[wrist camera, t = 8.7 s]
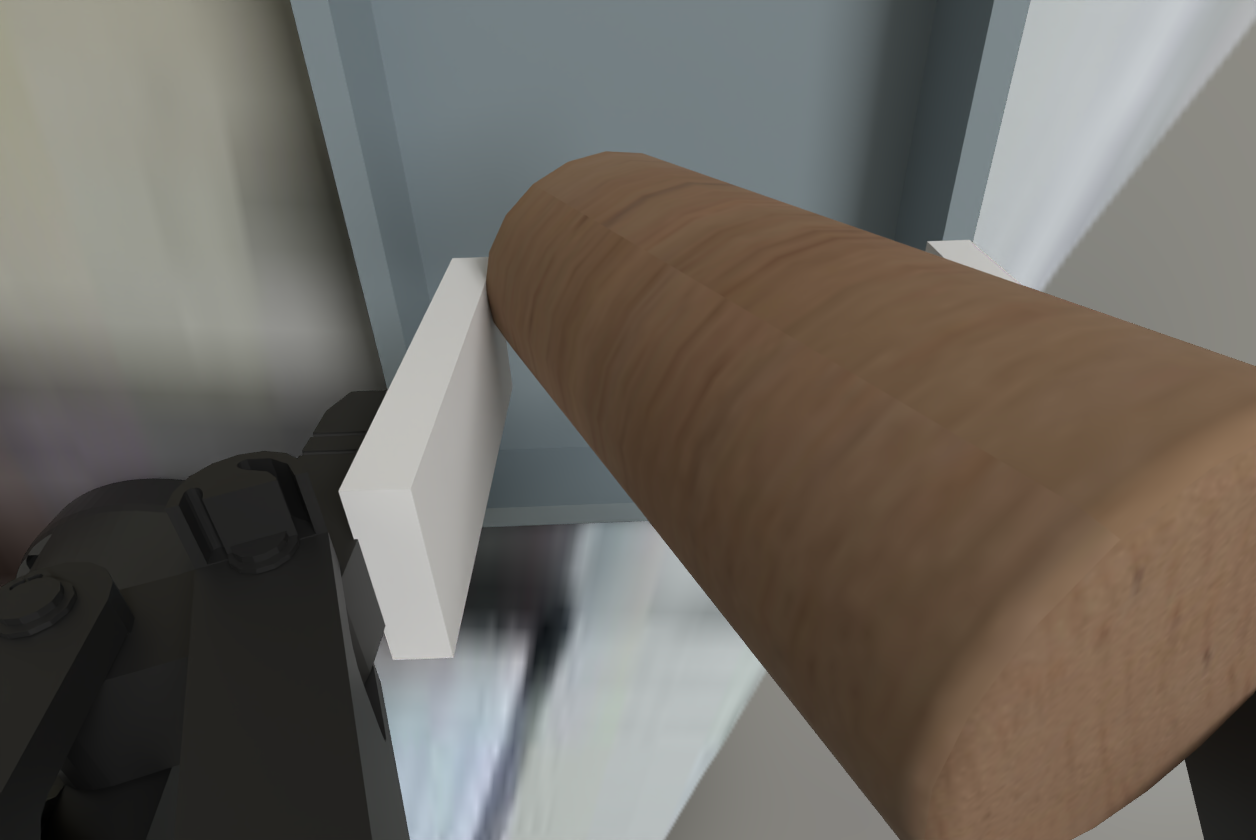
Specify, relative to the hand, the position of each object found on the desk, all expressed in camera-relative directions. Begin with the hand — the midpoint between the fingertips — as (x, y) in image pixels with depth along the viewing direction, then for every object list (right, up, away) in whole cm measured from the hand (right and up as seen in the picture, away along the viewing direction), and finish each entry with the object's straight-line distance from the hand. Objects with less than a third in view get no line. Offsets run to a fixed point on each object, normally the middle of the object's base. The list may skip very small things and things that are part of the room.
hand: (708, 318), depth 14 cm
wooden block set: (+2, 0, +1) cm, 2 cm away
